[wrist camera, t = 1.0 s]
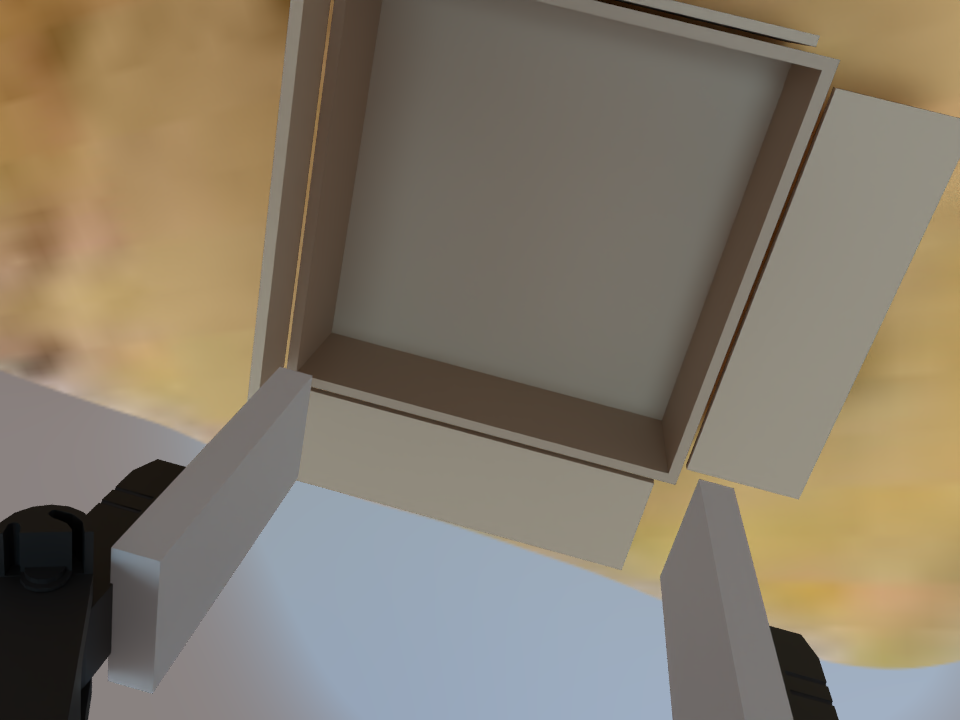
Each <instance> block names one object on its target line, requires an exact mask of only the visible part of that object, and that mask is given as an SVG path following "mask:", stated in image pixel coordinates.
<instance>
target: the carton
mask: <svg viewBox="0 0 960 720" xmlns="http://www.w3.org/2000/svg"><path fill="white" fill-rule="evenodd" d="M616 1H620V2H624V3H628V4H632V5H636V6H640V7H645V8H649V9H653V10H657V11H661V12H665V13H669V14H673V15H678V16H682V17H686V18H690V19H694V20H698V21H702V22H707V23H711V24H715V25H719V26H723V27H727V28H731V29H735V30H740V31H744V32H748V33H752V34H756V35H760V36H764V37H768V38H773V39H777V40H781V41H785V42H790V43H796V44H802V45H808V46H814V47H816V45H817V42H818V40H819V37H820V36H818V35H814V34H810V33H806V32H801V31H797V30H793V29H789V28H785V27H781V26H777V25H773V24H768V23H764V22H760V21H756V20H752V19H748V18H744V17H739V16H735V15H731V14H727V13H723V12H719V11H715V10H710V9H706V8H702V7H698V6H694V5H690V4H686V3H681V2H677V1H673V0H616ZM839 61H840V60H838V59H834V58H830V57H825V56H821V55H817V54H813V53H809V52H805V51H801V50H797V49H793V48H788V47H784V46H780V45H776V44H772V43H768V42H764V41H760V40H755V39H751V38H747V37H743V36H739V35H735V34H731V33H727V32H722V31H718V30H714V29H710V28H706V27H702V26H698V25H694V24H689V23H685V22H681V21H677V20H673V19H669V18H665V17H661V16H657V15H652V14H648V13H644V12H640V11H636V10H632V9H628V8H624V7H619V6H615V5H611V4H607V3H603V2H599V1H595V0H334V7H333V15H332V22H331V30H330V38H329V46H328V53H327V61H326V69H325V77H324V84H323V92H322V100H321V108H320V115H319V123H318V131H317V139H316V146H315V154H314V162H313V170H312V177H311V185H310V193H309V201H308V208H307V216H306V224H305V232H304V239H303V247H302V255H301V263H300V270H299V278H298V286H297V294H296V301H295V309H294V317H293V324H292V332H291V340H290V348H289V355H288V363H287V369H290V370H293V371H297V372H301V373H305V374H308V375H312V383H311V390H310V397H309V404H308V411H307V418H306V425H305V432H304V439H303V446H302V453H301V460H300V467H299V474H298V478H297V481H300V482H304V483H308V484H311V485H315V486H319V487H322V488H326V489H329V490H333V491H337V492H340V493H344V494H348V495H351V496H355V497H358V498H362V499H366V500H369V501H373V502H377V503H380V504H384V505H387V506H391V507H395V508H398V509H402V510H405V511H409V512H413V513H416V514H420V515H424V516H427V517H431V518H434V519H438V520H442V521H445V522H449V523H453V524H456V525H460V526H463V527H467V528H471V529H474V530H478V531H482V532H485V533H489V534H492V535H496V536H500V537H503V538H507V539H511V540H514V541H518V542H521V543H525V544H529V545H532V546H536V547H540V548H543V549H547V550H550V551H554V552H558V553H561V554H565V555H569V556H572V557H576V558H579V559H583V560H587V561H590V562H594V563H598V564H601V565H605V566H608V567H612V568H616V569H619V570H622V567H623V565H624V562H625V559H626V557H627V554H628V551H629V549H630V546H631V543H632V541H633V538H634V535H635V533H636V530H637V527H638V525H639V522H640V519H641V517H642V514H643V511H644V509H645V506H646V503H647V501H648V498H649V495H650V493H651V490H652V487H653V485H654V480H653V479H655V480H659V481H663V482H667V483H670V484H674V485H675V484H676V482H677V479H678V477H679V474H680V471H681V469H682V466H683V464H684V461H685V459H686V456H687V453H688V451H689V448H690V446H691V443H692V441H693V438H694V435H695V433H696V430H697V428H698V425H699V422H700V420H701V417H702V415H703V412H704V410H705V407H706V404H707V402H708V399H709V397H710V394H711V392H712V389H713V386H714V384H715V381H716V379H717V376H718V373H719V371H720V368H721V366H722V363H723V361H724V358H725V355H726V353H727V350H728V348H729V345H730V343H731V340H732V337H733V335H734V332H735V330H736V327H737V324H738V322H739V319H740V317H741V314H742V312H743V309H744V306H745V304H746V301H747V299H748V296H749V294H750V291H751V288H752V286H753V283H754V281H755V278H756V276H757V273H758V270H759V268H760V265H761V263H762V260H763V257H764V255H765V252H766V250H767V247H768V245H769V242H770V239H771V237H772V234H773V232H774V229H775V227H776V224H777V221H778V219H779V216H780V214H781V211H782V208H783V206H784V203H785V201H786V198H787V196H788V193H789V190H790V188H791V185H792V183H793V180H794V178H795V175H796V172H797V170H798V167H799V165H800V162H801V159H802V157H803V154H804V152H805V149H806V147H807V144H808V141H809V139H810V136H811V134H812V131H813V129H814V126H815V123H816V121H817V118H818V116H819V113H820V110H821V108H822V105H823V103H824V100H825V98H826V95H827V92H828V90H829V87H830V85H831V82H832V80H833V77H834V74H835V72H836V69H837V67H838V64H839ZM959 158H960V118H957V117H953V116H949V115H944V114H940V113H936V112H932V111H928V110H924V109H920V108H916V107H912V106H908V105H904V104H899V103H895V102H891V101H887V100H883V99H879V98H875V97H871V96H867V95H863V94H859V93H854V92H850V91H846V90H842V89H838V88H834V87H833V90H832V92H831V95H830V97H829V100H828V103H827V105H826V108H825V110H824V113H823V115H822V118H821V121H820V123H819V126H818V128H817V131H816V133H815V136H814V139H813V141H812V144H811V146H810V149H809V151H808V154H807V156H806V159H805V162H804V164H803V167H802V169H801V172H800V174H799V177H798V180H797V182H796V185H795V187H794V190H793V192H792V195H791V198H790V200H789V203H788V205H787V208H786V210H785V213H784V215H783V218H782V221H781V223H780V226H779V228H778V231H777V233H776V236H775V239H774V241H773V244H772V246H771V249H770V251H769V254H768V257H767V259H766V262H765V264H764V267H763V269H762V272H761V274H760V277H759V280H758V282H757V285H756V287H755V290H754V292H753V295H752V298H751V300H750V303H749V305H748V308H747V310H746V313H745V316H744V318H743V321H742V323H741V326H740V328H739V331H738V333H737V336H736V339H735V341H734V344H733V346H732V349H731V351H730V354H729V357H728V359H727V362H726V364H725V367H724V369H723V372H722V375H721V377H720V380H719V382H718V385H717V387H716V390H715V392H714V395H713V398H712V400H711V403H710V405H709V408H708V410H707V413H706V416H705V418H704V421H703V423H702V426H701V428H700V431H699V434H698V436H697V439H696V441H695V444H694V446H693V449H692V451H691V454H690V457H689V459H688V462H687V464H686V467H687V469H688V470H691V471H695V472H699V473H702V474H706V475H710V476H714V477H717V478H721V479H725V480H728V481H732V482H736V483H740V484H743V485H747V486H751V487H754V488H758V489H762V490H766V491H769V492H773V493H777V494H780V495H784V496H788V497H792V498H795V499H799V498H800V496H801V493H802V491H803V489H804V487H805V485H806V483H807V481H808V479H809V476H810V474H811V472H812V470H813V468H814V466H815V464H816V462H817V459H818V457H819V455H820V453H821V451H822V449H823V447H824V445H825V443H826V440H827V438H828V436H829V434H830V432H831V430H832V428H833V426H834V423H835V421H836V419H837V417H838V415H839V413H840V411H841V409H842V406H843V404H844V402H845V400H846V398H847V396H848V394H849V392H850V389H851V387H852V385H853V383H854V381H855V379H856V377H857V375H858V372H859V370H860V368H861V366H862V364H863V362H864V360H865V358H866V356H867V353H868V351H869V349H870V347H871V345H872V343H873V341H874V339H875V336H876V334H877V332H878V330H879V328H880V326H881V324H882V322H883V319H884V317H885V315H886V313H887V311H888V309H889V307H890V305H891V302H892V300H893V298H894V296H895V294H896V292H897V290H898V288H899V285H900V283H901V281H902V279H903V277H904V275H905V273H906V271H907V269H908V266H909V264H910V262H911V260H912V258H913V256H914V254H915V252H916V249H917V247H918V245H919V243H920V241H921V239H922V237H923V235H924V232H925V230H926V228H927V226H928V224H929V222H930V220H931V218H932V215H933V213H934V211H935V209H936V207H937V205H938V203H939V201H940V198H941V196H942V194H943V192H944V190H945V188H946V186H947V184H948V182H949V179H950V177H951V175H952V173H953V171H954V169H955V167H956V165H957V162H958V160H959ZM313 387H315V388H313ZM317 388H319V389H317ZM321 389H322V390H321ZM325 390H326V391H325ZM328 391H330V392H328ZM332 392H333V393H332ZM336 393H337V394H336ZM339 394H341V395H339ZM343 395H344V396H343ZM347 396H348V397H347ZM350 397H352V398H350ZM354 398H356V399H354ZM358 399H359V400H358ZM362 400H363V401H362ZM365 401H367V402H365ZM369 402H370V403H369ZM373 403H374V404H373ZM376 404H378V405H376ZM380 405H381V406H380ZM384 406H385V407H384ZM387 407H389V408H387ZM391 408H393V409H391ZM395 409H396V410H395ZM399 410H400V411H399ZM402 411H404V412H402ZM406 412H407V413H406ZM410 413H411V414H410ZM413 414H415V415H413ZM417 415H418V416H417ZM421 416H422V417H421ZM424 417H426V418H424ZM428 418H430V419H428ZM432 419H433V420H432ZM436 420H437V421H436ZM439 421H441V422H439ZM443 422H444V423H443ZM447 423H448V424H447ZM450 424H452V425H450ZM454 425H456V426H454ZM458 426H459V427H458ZM462 427H463V428H462ZM465 428H467V429H465ZM469 429H470V430H469ZM473 430H474V431H473ZM476 431H478V432H476ZM480 432H481V433H480ZM484 433H485V434H484ZM487 434H489V435H487ZM491 435H493V436H491ZM495 436H496V437H495ZM499 437H500V438H499ZM502 438H504V439H502ZM506 439H507V440H506ZM510 440H511V441H510ZM513 441H515V442H513ZM517 442H518V443H517ZM521 443H522V444H521ZM524 444H526V445H524ZM528 445H530V446H528ZM532 446H533V447H532ZM536 447H537V448H536ZM539 448H541V449H539ZM543 449H544V450H543ZM547 450H548V451H547ZM550 451H552V452H550ZM554 452H556V453H554ZM558 453H559V454H558ZM561 454H563V455H561ZM565 455H567V456H565ZM569 456H570V457H569ZM573 457H574V458H573ZM576 458H578V459H576ZM580 459H581V460H580ZM584 460H585V461H584ZM587 461H589V462H587ZM591 462H593V463H591ZM595 463H596V464H595ZM599 464H600V465H599ZM602 465H604V466H602ZM606 466H607V467H606ZM610 467H611V468H610ZM613 468H615V469H613ZM617 469H618V470H617ZM621 470H622V471H621ZM624 471H626V472H624ZM628 472H630V473H628ZM632 473H633V474H632ZM636 474H637V475H636ZM639 475H641V476H639ZM643 476H644V477H643ZM647 477H648V478H647ZM650 478H652V479H650Z"/></svg>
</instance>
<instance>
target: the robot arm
mask: <svg viewBox="0 0 960 720" xmlns="http://www.w3.org/2000/svg"><path fill="white" fill-rule="evenodd" d="M311 383H312V375H308V374H305V373H301V372H297V371H293V370H290V369H286V368H282V367H279V368H278V369H277V370H276V371H275V372H274V374H273V375H272V376H271V377H270V378H269V379H268V380H267V381H266V382H265V383H264V384H263V385H262V386H261V388H260V389H259V390H258V391H257V392H256V393H255V394H254V395H253V396H252V397H251V398H250V399H249V400H248V401H247V403H246V404H245V405H244V406H243V407H242V408H241V409H240V410H239V411H238V412H237V413H236V414H235V415H234V416H233V418H232V419H231V420H230V421H229V422H228V423H227V424H226V425H225V426H224V427H223V428H222V429H221V430H220V431H219V433H218V434H217V435H216V436H215V437H214V438H213V439H212V440H211V441H210V442H209V443H208V444H207V445H206V446H205V448H204V449H203V450H202V451H201V452H200V453H199V454H198V455H197V456H196V457H195V458H194V460H192V462H191V463H190V464H189V465H188V466H187V467H184V466H180V465H177V464H173V463H169V462H166V461H162V460H159V459H157V460H155V461H153V462H150V463H148V464H146V465H144V466H142V467H139V468H137V469H135V470H133V471H132V472H131V473H130V474H128V475H127V476H126V477H125V478H124V479H123V480H122V481H121V482H120V483H119V484H118V485H117V486H116V488H115V490H112V491H111V492H110V493H109V494H108V495H107V496H106V497H104V498H103V499H102V502H101V503H98V504H97V505H96V506H95V507H94V508H93V509H92V510H91V511H90V512H89V513H88V514H87V515H86V514H85V513H84V512H81V511H79V510H77V509H74V508H71V507H68V506H59V505H44V506H36V507H31V508H28V509H25V510H22V511H19V512H16V513H14V514H12V515H11V516H9V517H8V518H6V519H5V520H3V521H2V522H0V720H88V715H89V708H90V701H91V695H92V677H93V675H94V674H95V673H96V671H97V670H98V669H99V668H100V666H101V665H102V664H103V662H104V661H105V660H106V659H107V657H108V681H110V682H114V683H117V684H121V685H124V686H128V687H131V688H135V689H138V690H141V691H145V692H148V693H152V694H153V692H154V691H155V689H156V688H157V686H158V685H159V683H160V682H161V680H162V679H163V677H164V676H165V674H166V673H167V672H168V670H169V669H170V667H171V666H172V664H173V663H174V661H175V660H176V658H177V657H178V655H179V654H180V652H181V651H182V649H183V647H184V646H185V645H186V643H187V642H188V640H189V639H190V637H191V636H192V634H193V633H194V631H195V630H196V628H197V627H198V625H199V624H200V622H201V621H202V619H203V618H204V616H205V615H206V614H207V612H208V611H209V609H210V607H211V606H212V605H213V603H214V602H215V600H216V599H217V597H218V596H219V594H220V593H221V591H222V589H223V588H224V587H225V585H226V584H227V582H228V581H229V579H230V578H231V576H232V575H233V573H234V571H235V570H236V569H237V567H238V566H239V564H240V563H241V561H242V560H243V558H244V557H245V556H246V554H247V553H248V551H249V549H250V548H251V547H252V545H253V544H254V542H255V540H256V539H257V538H258V536H259V534H260V533H261V532H262V530H263V529H264V527H265V526H266V524H267V523H268V521H269V520H270V518H271V517H272V515H273V513H274V512H275V511H276V509H277V508H278V506H279V505H280V503H281V502H282V500H283V499H284V497H285V496H286V494H287V493H288V491H289V490H290V488H291V487H292V486H293V484H294V482H295V481H296V480H297V478H298V474H299V467H300V460H301V453H302V446H303V439H304V432H305V425H306V418H307V411H308V404H309V397H310V390H311ZM660 580H661V591H662V602H663V613H664V625H665V636H666V648H667V659H668V671H669V681H670V693H671V705H672V716H673V720H839V719H838V717H837V713H836V710H835V707H834V706H832V702H833V701H832V698H831V695H830V692H829V688H828V687H827V686H826V679H825V676H824V673H823V670H822V667H821V664H820V660H819V658H818V657H817V655H816V654H815V653H814V651H813V650H812V649H811V647H810V646H809V645H808V643H807V642H806V641H805V639H804V638H803V637H802V635H801V634H797V633H793V632H790V631H786V630H783V629H779V628H775V627H772V626H769V623H768V619H767V615H766V611H765V608H764V604H763V600H762V596H761V592H760V588H759V584H758V580H757V577H756V573H755V569H754V565H753V561H752V557H751V553H750V550H749V546H748V542H747V538H746V534H745V530H744V526H743V522H742V519H741V515H740V511H739V507H738V503H737V499H736V495H735V491H734V488H730V487H727V486H723V485H719V484H716V483H712V482H708V481H704V480H701V479H699V481H698V483H697V486H696V488H695V491H694V493H693V496H692V498H691V501H690V503H689V506H688V508H687V511H686V513H685V516H684V518H683V521H682V523H681V526H680V528H679V531H678V533H677V536H676V538H675V541H674V543H673V546H672V548H671V551H670V553H669V556H668V558H667V561H666V563H665V566H664V568H663V571H662V573H661V576H660Z"/></svg>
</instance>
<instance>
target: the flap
mask: <svg viewBox="0 0 960 720" xmlns="http://www.w3.org/2000/svg"><path fill="white" fill-rule="evenodd" d="M329 8H330V0H291V2H290V11H289V20H288V30H287V39H286V48H285V57H284V67H283V76H282V85H281V94H280V104H279V113H278V122H277V132H276V141H275V150H274V159H273V169H272V178H271V187H270V197H269V206H268V215H267V224H266V234H265V243H264V252H263V262H262V271H261V280H260V289H259V299H258V308H257V317H256V327H255V336H254V345H253V354H252V364H251V373H250V382H249V392H248V400H249V399H250V398H251V397H252V396H253V395H254V394H255V393H256V392H257V391H258V390H259V389H260V388H261V386H262V385H263V384H264V383H265V382H266V381H267V380H268V379H269V378H270V377H271V376H272V375H273V374H274V372H275V371H276V370H277V369H278V368H279V367H282V368H283V367H284V362H285V354H286V346H287V338H288V330H289V323H290V315H291V307H292V299H293V291H294V283H295V275H296V267H297V260H298V252H299V244H300V236H301V228H302V220H303V212H304V205H305V197H306V189H307V181H308V173H309V165H310V157H311V150H312V142H313V134H314V126H315V118H316V110H317V102H318V95H319V87H320V79H321V71H322V63H323V55H324V47H325V40H326V32H327V24H328V16H329Z"/></svg>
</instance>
